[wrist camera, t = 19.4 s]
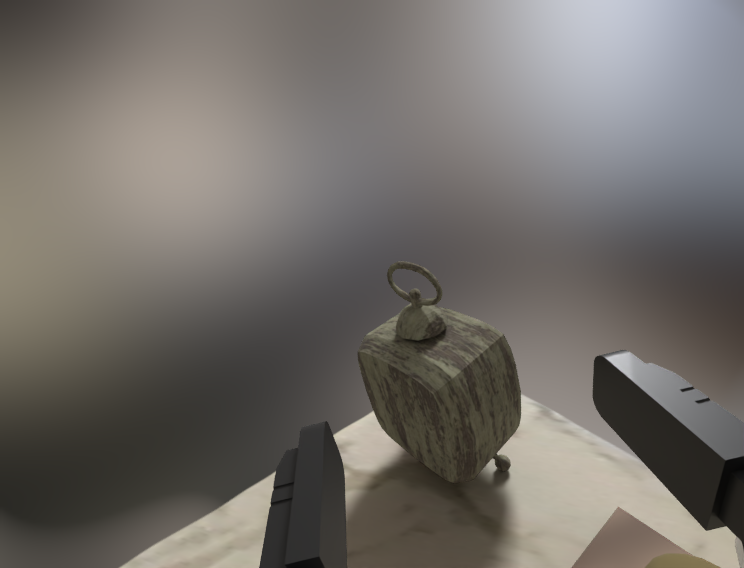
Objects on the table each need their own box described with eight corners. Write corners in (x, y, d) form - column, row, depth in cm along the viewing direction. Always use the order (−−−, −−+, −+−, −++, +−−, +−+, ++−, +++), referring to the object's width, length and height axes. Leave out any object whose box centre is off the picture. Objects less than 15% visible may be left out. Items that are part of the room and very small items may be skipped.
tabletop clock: (528, 467, 38) (505, 253, 29) (477, 532, 34) (430, 304, 24) (430, 408, 50) (389, 239, 40) (381, 450, 45) (323, 272, 35)
